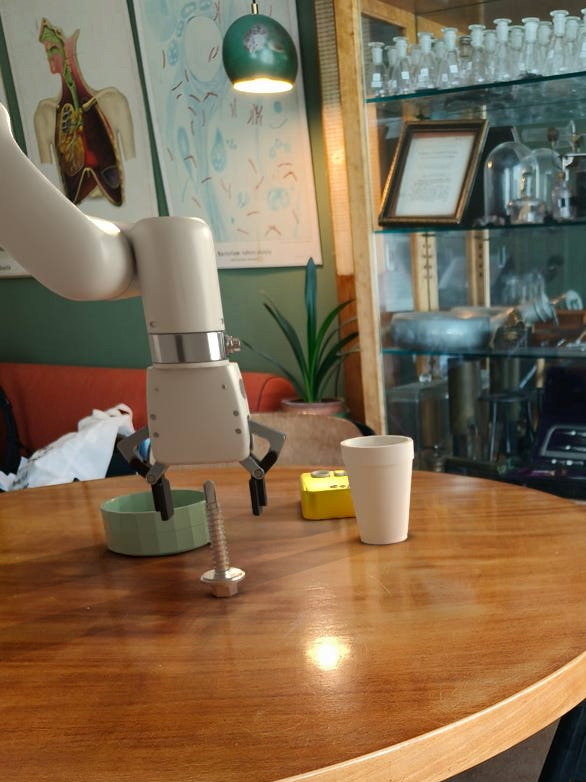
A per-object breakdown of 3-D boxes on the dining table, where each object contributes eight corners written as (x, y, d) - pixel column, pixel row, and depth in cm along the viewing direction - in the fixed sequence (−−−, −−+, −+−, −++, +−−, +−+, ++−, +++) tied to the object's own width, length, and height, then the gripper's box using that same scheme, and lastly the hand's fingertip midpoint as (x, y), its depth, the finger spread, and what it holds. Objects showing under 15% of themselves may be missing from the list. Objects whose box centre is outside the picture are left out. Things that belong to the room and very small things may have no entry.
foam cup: (360, 551, 114) (351, 450, 109) (340, 534, 122) (331, 439, 117) (428, 541, 118) (423, 442, 113) (405, 525, 125) (399, 433, 121)
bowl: (95, 561, 114) (86, 515, 111) (124, 533, 127) (116, 491, 124) (207, 554, 115) (200, 509, 113) (225, 527, 128) (219, 486, 126)
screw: (194, 598, 98) (220, 585, 103) (230, 602, 97) (255, 588, 101) (175, 483, 94) (204, 473, 98) (212, 485, 92) (240, 475, 96)
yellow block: (303, 521, 130) (299, 489, 128) (301, 499, 143) (297, 470, 141) (404, 513, 132) (402, 481, 130) (393, 492, 146) (391, 463, 144)
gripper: (279, 345, 94) (296, 503, 101) (112, 352, 93) (140, 511, 99) (271, 350, 87) (290, 519, 94) (91, 357, 86) (122, 528, 92)
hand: (213, 515), depth 96 cm, fingers open, 9 cm apart
